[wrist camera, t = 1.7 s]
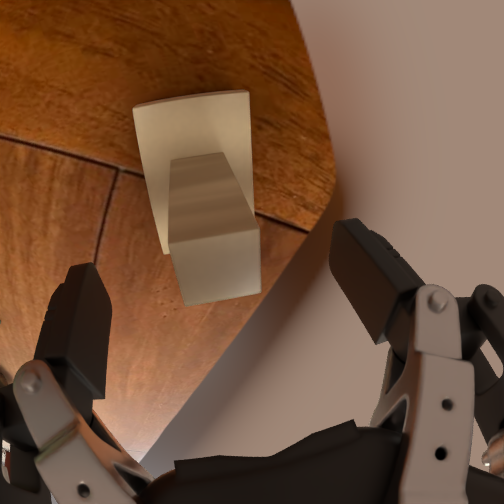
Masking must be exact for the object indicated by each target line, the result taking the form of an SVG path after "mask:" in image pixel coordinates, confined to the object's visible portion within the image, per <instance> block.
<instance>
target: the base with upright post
mask: <svg viewBox="0 0 504 504" xmlns="http://www.w3.org/2000/svg"><path fill="white" fill-rule="evenodd" d="M132 110H133V117H134V123H135V129H136V134H137V140H138V145H139V151H140V156H141V161H142V166H143V171H144V176H145V180H146V185H147V189H148V194H149V198H150V203H151V207H152V211H153V215H154V219H155V223H156V227H157V231H158V235H159V239H160V243H161V246H162V250H163V254H170V255H171V259H172V262H173V266H174V270H175V274H176V277H177V281H178V284H179V288H180V291H181V295H182V298H183V302H184V305H185V306H192V305H198V304H204V303H209V302H215V301H220V300H226V299H231V298H236V297H242V296H247V295H252V294H257V293H261V252H260V228H259V226H258V224H257V221H256V219H255V217H254V194H253V169H252V145H251V122H250V98H249V92H248V91H246V90H243V89H242V90H226V91H216V92H207V93H199V94H191V95H184V96H178V97H172V98H166V99H160V100H155V101H150V102H145V103H142V104H137V105H135V106H134V108H133V109H132Z"/></svg>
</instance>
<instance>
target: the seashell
mask: <svg viewBox="0 0 504 504" xmlns="http://www.w3.org/2000/svg"><path fill="white" fill-rule="evenodd" d="M7 385H8V384H7V382H6V379H5V378H4V376H3V375H2V374H1V373H0V388H1V387H4V386H7Z"/></svg>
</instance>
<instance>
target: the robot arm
mask: <svg viewBox="0 0 504 504" xmlns="http://www.w3.org/2000/svg"><path fill="white" fill-rule="evenodd" d="M329 266H330V270H331V272H332V274H333V276H334V278H335V279H336V281H337V282H338V284H339V286H340V287H341V289H342V290H343V292H344V294H345V295H346V297H347V298H348V300H349V301H350V303H351V305H352V306H353V308H354V309H355V311H356V313H357V314H358V316H359V318H360V319H361V321H362V323H363V324H364V326H365V328H366V329H367V331H368V333H369V334H370V336H371V338H372V340H373V341H374V343H375V345H377V344H380V343H383V342H385V341H389V343H390V345H391V347H390V348H389V351H388V356H387V362H386V369H385V374H384V379H383V384H382V389H381V394H380V398H379V402H378V404H377V406H376V409H375V410H374V413H373V415H372V418H371V421H370V424H369V427H357V426H356V424H355V422H354V419H353V420H350V421H347V422H344V423H342V424H339V425H336V426H333V427H330V428H327V429H325V430H322V431H318V432H315V433H312V434H311V435H309V436H307V437H306V438H304V439H302V440H300V441H299V442H297V443H295V444H293V445H291V446H290V447H288V448H286V449H284V450H282V451H280V452H278V453H276V454H275V455H272V456H269V457H242V456H222V455H217V456H211V457H204V458H196V459H187V460H176V461H174V464H175V469H174V470H171V471H169V472H167V473H165V474H163V475H161V476H159V477H158V478H156V479H155V478H153V476H152V475H151V474H150V473H149V472H147V470H145V468H143V467H142V466H141V465H140V464H139V463H138V462H137V461H135V460H134V459H133V458H132V457H131V456H130V455H129V454H128V453H127V452H126V451H125V450H124V448H123V447H122V446H121V445H120V444H119V442H118V441H117V440H116V439H115V437H114V436H113V435H112V434H111V432H110V431H109V430H108V429H107V427H106V426H105V425H104V423H103V422H102V421H101V419H100V418H99V417H98V415H97V414H96V412H95V411H94V410H93V409H92V405H93V400H95V399H105V387H106V370H107V357H108V345H109V336H110V327H111V319H112V305H111V300H110V297H109V295H108V293H107V291H106V289H105V287H104V284H103V282H102V280H101V278H100V276H99V274H98V271H97V269H96V267H95V265H94V264H93V263H92V262H90V263H85V264H79V265H74V266H71V267H70V268H69V271H68V273H67V276H66V279H65V282H64V283H62V284H60V285H59V286H58V288H57V289H56V290H55V292H54V293H53V295H52V296H51V299H50V302H49V305H48V311H46V315H45V318H44V319H45V321H43V325H42V328H41V331H40V335H39V339H38V343H37V346H36V350H35V354H34V359H33V360H31V361H28V362H26V363H25V364H24V365H22V366H21V367H20V369H19V370H18V371H17V373H16V375H15V378H14V381H13V383H12V384H9V385H7V386H4V387H1V388H0V504H52V502H51V494H50V492H51V493H52V495H53V496H54V498H55V500H56V501H57V503H58V504H504V297H503V295H502V294H501V293H500V292H499V291H498V290H497V289H495V288H494V287H492V286H490V285H486V284H481V285H478V286H477V287H476V288H475V290H474V292H473V294H472V296H471V297H459V298H458V297H456V298H455V297H454V296H453V295H452V294H451V293H450V292H449V291H448V290H447V289H445V288H443V287H441V286H438V285H434V284H427V285H426V284H425V283H424V282H423V280H422V279H421V278H420V277H419V276H418V275H417V273H416V272H415V271H414V270H413V269H412V268H411V266H410V265H409V264H408V263H407V262H406V261H405V260H404V259H403V257H400V254H399V253H398V252H397V251H396V250H395V249H393V246H392V245H391V244H390V243H389V242H388V241H387V240H386V239H385V238H384V237H382V236H381V235H379V234H377V233H375V232H374V231H372V230H368V228H367V227H366V226H365V225H364V224H362V222H361V221H360V220H359V219H357V218H353V219H347V220H340V221H336V222H335V224H334V226H333V233H332V240H331V247H330V254H329ZM487 339H488V341H489V342H490V344H491V345H492V347H493V349H494V350H495V351H496V353H497V355H498V357H499V358H500V360H501V362H502V364H503V374H502V376H501V377H500V378H498V377H497V376H496V374H495V372H494V371H493V369H492V367H491V366H490V364H489V362H488V361H487V359H486V357H485V356H484V354H483V352H482V351H481V349H480V347H481V346H482V345H483V343H484V342H485V341H486V340H487ZM474 417H475V419H476V421H477V423H478V425H479V428H480V430H481V432H482V434H483V436H484V439H485V441H486V443H487V446H488V449H487V450H486V451H485V452H484V453H483V455H482V463H483V464H484V465H486V466H488V465H489V473H488V472H486V471H483V470H480V469H478V468H475V467H472V466H470V465H469V461H470V454H471V445H472V434H473V422H474ZM2 440H4V441H6V442H8V443H9V444H10V484H9V483H8V482H7V481H6V480H5V478H4V476H3V473H2Z"/></svg>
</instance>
